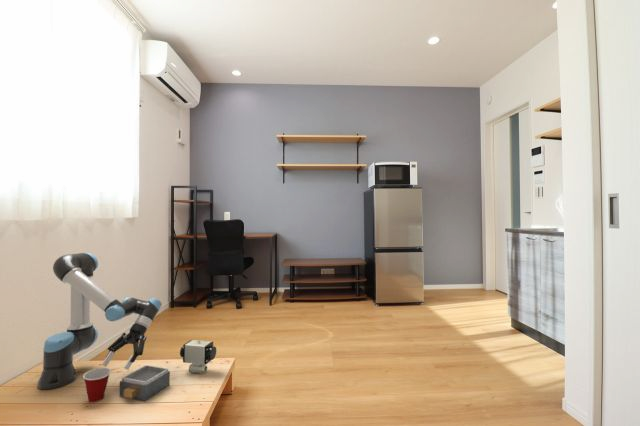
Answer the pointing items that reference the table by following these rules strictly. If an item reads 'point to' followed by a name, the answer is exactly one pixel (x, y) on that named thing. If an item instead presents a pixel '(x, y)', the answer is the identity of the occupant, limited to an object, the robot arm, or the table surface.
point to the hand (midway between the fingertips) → (114, 367)
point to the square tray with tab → (144, 383)
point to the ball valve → (198, 355)
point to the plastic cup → (96, 383)
